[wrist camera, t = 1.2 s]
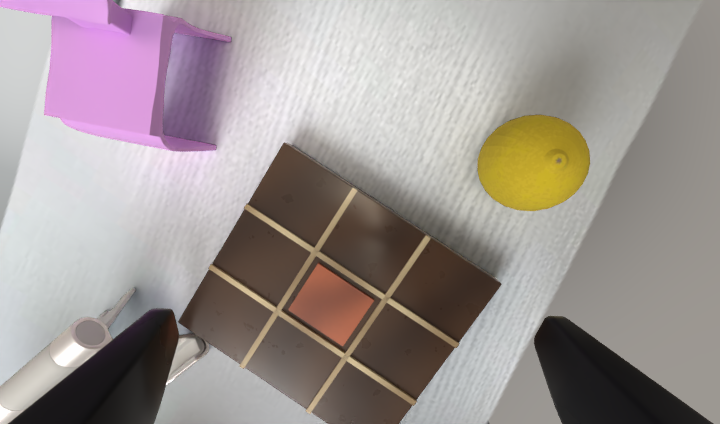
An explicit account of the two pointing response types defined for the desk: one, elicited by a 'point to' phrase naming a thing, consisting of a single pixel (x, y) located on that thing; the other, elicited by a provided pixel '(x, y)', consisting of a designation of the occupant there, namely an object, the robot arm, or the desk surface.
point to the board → (335, 296)
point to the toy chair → (111, 69)
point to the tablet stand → (80, 360)
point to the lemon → (533, 162)
